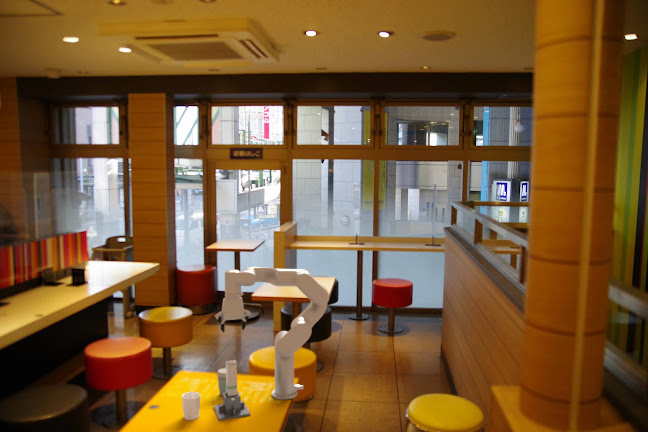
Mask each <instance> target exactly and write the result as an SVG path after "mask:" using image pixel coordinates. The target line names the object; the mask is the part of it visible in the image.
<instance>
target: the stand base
mask: <svg viewBox="0 0 648 432" xmlns="http://www.w3.org/2000/svg"><path fill="white" fill-rule="evenodd" d="M213 409H214V411H215V414H216V416H217V419H218V421H227V420H231V419H236V418H237V419H238V418H243V417H250V416H251V412H250V410H249V408H248V406H247V405H246V403H245V401H244V400H242V399H241V394H240V393H239V391H238V390H237V396H235V397H229V398H227V396H226V392H225V393H223V396H222V403H221V404H214V405H213Z"/></svg>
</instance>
